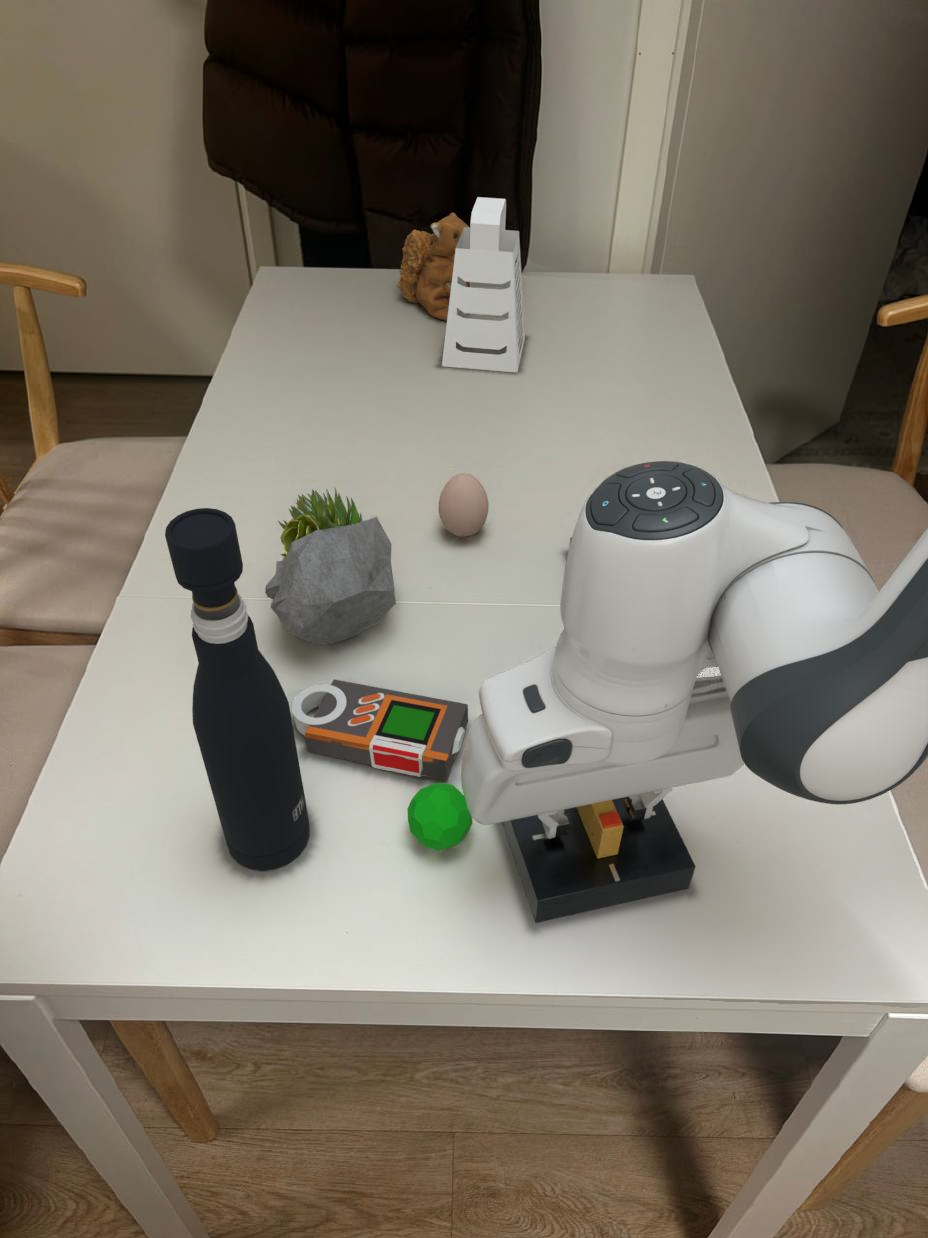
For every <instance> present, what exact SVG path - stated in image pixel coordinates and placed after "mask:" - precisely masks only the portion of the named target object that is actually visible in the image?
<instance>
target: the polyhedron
mask: <svg viewBox="0 0 928 1238" xmlns="http://www.w3.org/2000/svg"><path fill="white" fill-rule="evenodd" d="M407 824H408V827H409V833H410V834H411V835H412V836H413V837H414V838H415V839H416V840H417V841H418V842H419V843H420V844H421V845H422V846H424V847H425V848H426V849H431V850H433V851H443V850H447V849H449V848H452V847H454V846H457V845H460V844H461V843H462V841H463V840H464V839H465V837H466V836H467V834H468V833H469V831H470V829H471V827H472V826H473V819H472V817H471V815H470V813H469V810H468V807H467V804H466V801H465V797H464V794H463V792H461V791H460V790H459V789H458V788H457V787H456V786H455V785H454V784H449V783H445V782H436V783H431V784H428V785H427V786H424V787H422V788H420V789H419V790H418V791H417V792H416V793H415V794H414V796H412V799H411V801H410V803H409V804H408V807H407Z"/></svg>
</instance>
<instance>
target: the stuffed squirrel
mask: <svg viewBox="0 0 928 1238" xmlns="http://www.w3.org/2000/svg"><path fill="white" fill-rule="evenodd" d="M464 227H469V228H470V226H469V225H468V224H467V223H466V222H464V221H463V219H461V218H459V217H458V216H457V214H456V213H455V212H451V213H449V215H447V216H444V217H443V218H442V219H440V220H438V221H437V222H433V223H431V224H430V228H431V230H432V232H433V233H432V234H431V233H429V232H426V231H424V230H421V231H420V230H417V229H413V230H412V231H411V232H410V233H408V235H407V236H406V238H405V240H404V246H403V247H402V249H401V250H402V255H403V257H402V260H401V264H400V270H399V269H398V271H399V272H398V273H399V275H400V277H399V280H398V283H397V284H396V287H397V288H399V290H400V292H401V294H402V296H403V298H404V299H405V300H407V302H409V303H412V304H420V305H421V306H422V308H424V309H425V311H426V312H427V313H428V314H429V315H430V316H432V317H433V318H435V319H438V320H441V321H445V322H447V318H448V309H449V301H450V292H451V284H452V275H453V267H454V259H455V250H456V246H457V244H458V241H459V239H460V236H461V234H462V231H463V229H464ZM466 287H471V283H470V282H466Z"/></svg>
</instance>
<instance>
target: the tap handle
mask: <svg viewBox="0 0 928 1238" xmlns="http://www.w3.org/2000/svg"><path fill="white" fill-rule="evenodd" d="M576 808H577V810H578V813H579V815H580V817H581V820H582V822H583V825H584V827H585V830H586V832H587V835H588V837H589V840H590V842H591V844H592V847H593V849H594V852H595V854H596V857H597V859H598V858H603V857H607V856H612V855H617V854H618V850H619V846H620V841H621V837H622V832H623V828H624V826H623V824H622V822H621V819H620V817H619V815H618V813H617V810H616V808H615V806H614V804H613V801H612V800H609V801H604V802H599V803H594V804H589V805H584V806H579V807H576Z"/></svg>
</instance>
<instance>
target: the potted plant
mask: <svg viewBox="0 0 928 1238" xmlns="http://www.w3.org/2000/svg"><path fill="white" fill-rule="evenodd" d="M325 490H326V494H325V492H323V493H322V494H323V497H322V495H321V494H320V493H319V492H318V491H317V490H316V489H313V488H311V494H309V493H306V494H307V496H308V497H309V498H308V497H306V495H304V494H303V493H301V495H299V494H297V497H298V498H296V502H295V504H296V506H295V505H293V506H292V505H290V508H288V511H289V513H290V516H291V517H292V518H291V520H289V521H286V520H285V519H283V522H281V521H279V520H277V522H278V524H279V525H280V526H281V528H282V529H283V530H282V532H281V535H280V537H279V538H280V542H281V544H282V545H283V549H284V552H283V553H280V556H282V557H283V558H282V560H278V561H276V566H275V567H276V569H275V575H274V576H273V577H272V578H271V579H270V580H269V581H268V582H267V584H265V590H264V593H265V595H266V596H267V598H269V599H271V600H272V601H271V604H270V609H271V610H272V611H273V612H274V613H275V614H276V616H277V618H278V620H279V622H280V624H281V627H282V629H283V630H284V631H285V632H286V633H287V634H288V635H290V636H293V637H296V638H298V639H301V640H302V641H303V640H304V641H307V642H308V643H311V644H319V645H326V646H327V645H328V646H329V645H332V644H334V643H337V642H342V641H345V640H347V639H350V638H354V637H356V636H358V635H360V634H361V633H364V632H365V631H367V630H369V629H370V628H373V627H374V626H376V625H377V624H378V623H379V622H380V621H381V620H382V619H383V618H385V616H386V615H387V614H388V612H389V611H391V609H392V608H393V607H394V606H396V604H397V600H396V591H395V584H394V575H393V568H392V567H393V566H392V542H391V540H390V538H389V536H388V535H387V532H386V531H385V528H384V527H383V526H382V523H381V522H380V520H379V518H378V516H374V517H372V518H368V519H365V520H363V516H362V513H361V512H359V511H358V509H357V506H356V502H355V501H354V499H353V498H352V497H350V499H349V497H348V496H347V495H346V496H345V497H346V505H347V507H346V506H345V504H344V501H343V498H342V497H341V494H340V493H338V491H337V488H336V487H334V500H333V498H332V496H331V493H330V492H329V490H328V488H326V489H325Z"/></svg>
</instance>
